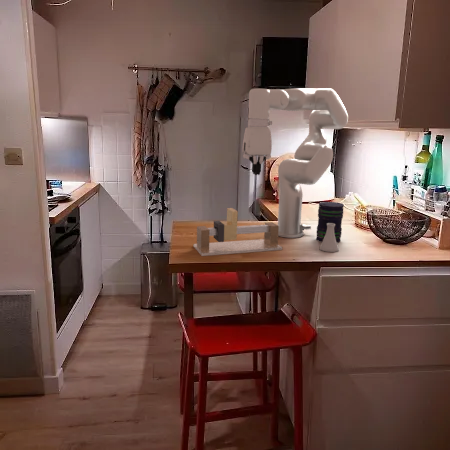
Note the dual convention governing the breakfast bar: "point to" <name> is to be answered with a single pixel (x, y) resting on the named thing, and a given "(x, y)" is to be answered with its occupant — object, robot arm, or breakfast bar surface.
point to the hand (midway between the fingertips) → (256, 174)
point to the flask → (329, 240)
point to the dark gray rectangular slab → (219, 231)
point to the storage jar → (329, 219)
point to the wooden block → (231, 225)
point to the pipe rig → (238, 246)
